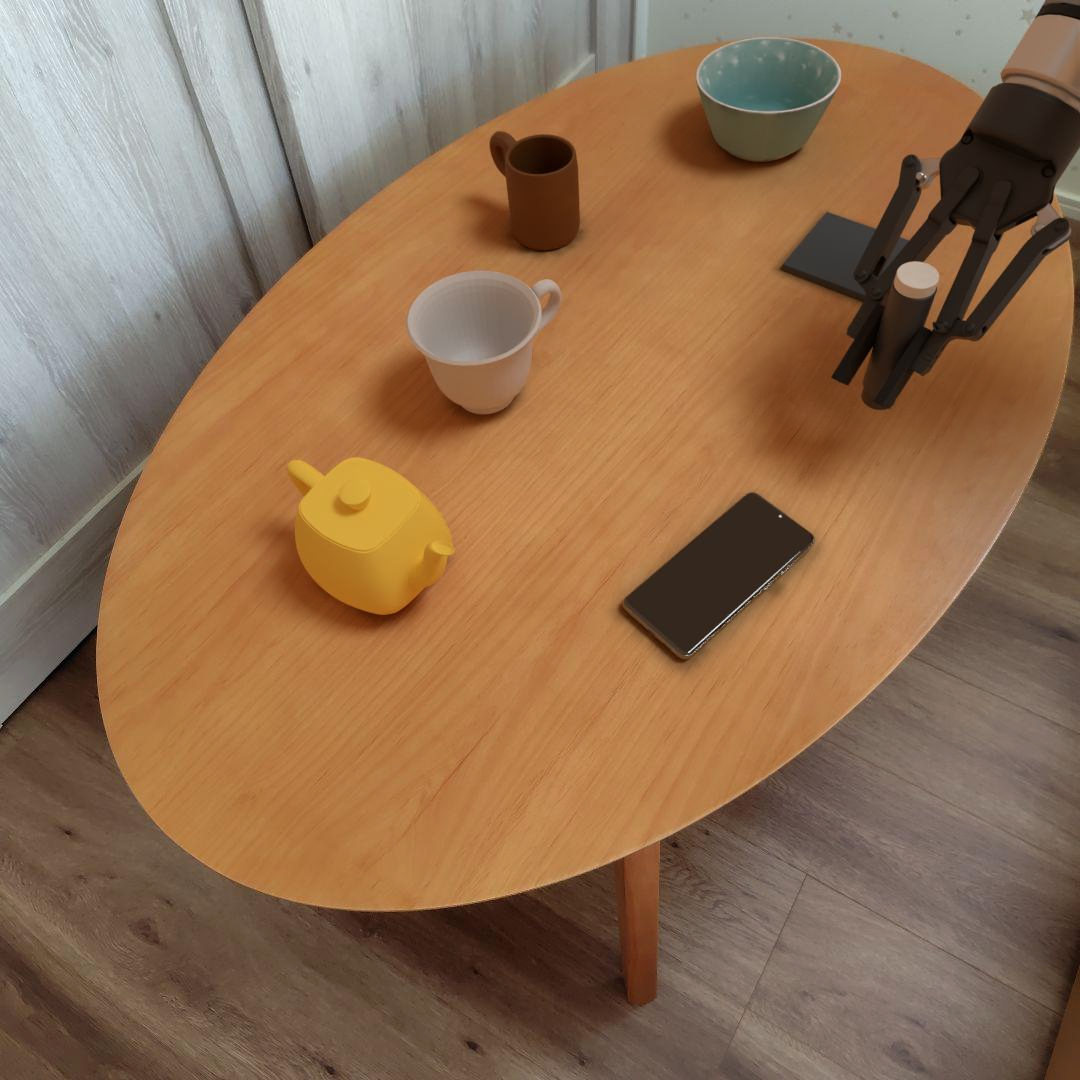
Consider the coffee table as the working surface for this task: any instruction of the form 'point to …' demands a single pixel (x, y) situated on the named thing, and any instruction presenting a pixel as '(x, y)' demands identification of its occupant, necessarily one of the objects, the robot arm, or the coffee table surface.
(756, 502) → the smartphone
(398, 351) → the coffee table surface
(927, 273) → the dark grey capped cylinder
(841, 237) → the pad
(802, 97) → the bowl
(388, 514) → the teapot
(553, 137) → the mug
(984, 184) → the robot arm
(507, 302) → the teacup
